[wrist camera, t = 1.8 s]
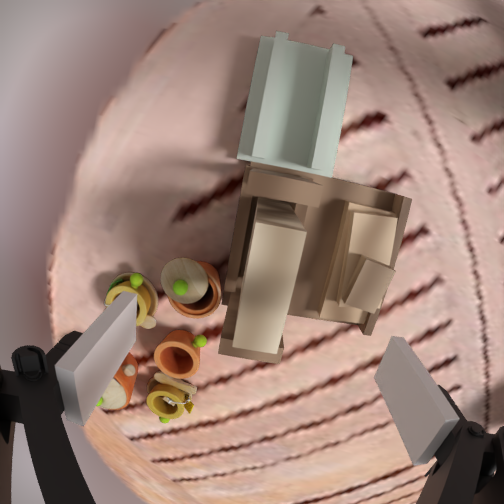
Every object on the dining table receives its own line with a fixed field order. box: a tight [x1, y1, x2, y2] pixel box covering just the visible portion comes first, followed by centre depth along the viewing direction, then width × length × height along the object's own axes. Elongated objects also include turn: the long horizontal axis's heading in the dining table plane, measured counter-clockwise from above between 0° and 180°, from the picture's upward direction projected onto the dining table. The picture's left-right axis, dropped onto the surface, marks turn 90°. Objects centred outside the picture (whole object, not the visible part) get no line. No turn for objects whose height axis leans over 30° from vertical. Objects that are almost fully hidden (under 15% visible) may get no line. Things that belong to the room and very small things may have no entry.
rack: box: [218, 161, 412, 364], centre depth 30 cm, size 17×16×12 cm
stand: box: [237, 31, 353, 178], centre depth 29 cm, size 10×14×4 cm
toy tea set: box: [96, 258, 221, 423], centre depth 35 cm, size 26×16×10 cm, turn 160°
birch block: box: [232, 197, 307, 354], centre depth 28 cm, size 3×9×14 cm, turn 170°
